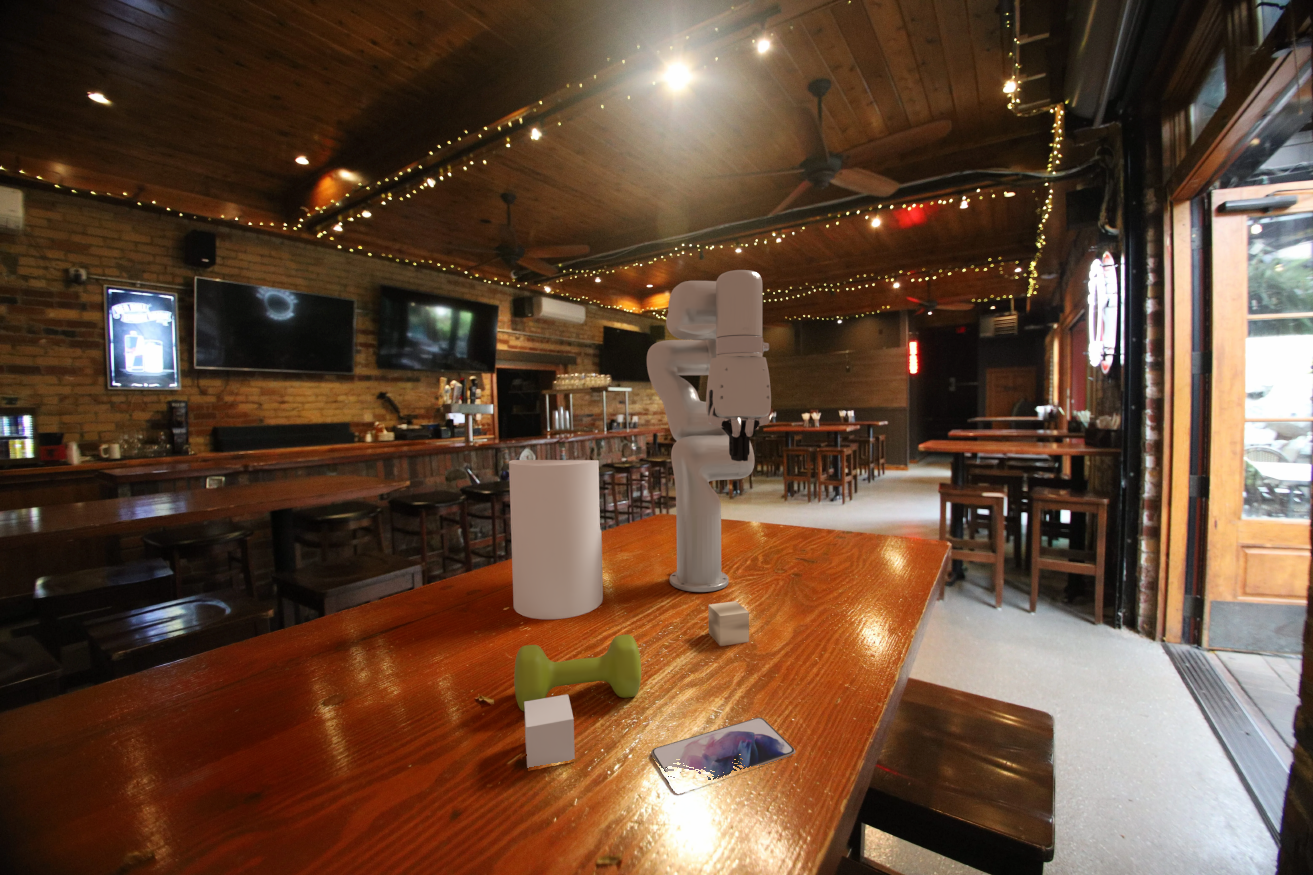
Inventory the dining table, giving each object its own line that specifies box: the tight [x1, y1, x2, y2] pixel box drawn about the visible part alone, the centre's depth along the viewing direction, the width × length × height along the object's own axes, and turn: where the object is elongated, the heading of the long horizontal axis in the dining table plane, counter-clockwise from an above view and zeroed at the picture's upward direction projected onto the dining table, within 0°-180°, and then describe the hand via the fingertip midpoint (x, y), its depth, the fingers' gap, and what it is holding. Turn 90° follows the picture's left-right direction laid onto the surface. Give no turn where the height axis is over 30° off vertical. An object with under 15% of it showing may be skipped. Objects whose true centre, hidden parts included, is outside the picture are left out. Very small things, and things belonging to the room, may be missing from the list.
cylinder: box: [508, 459, 604, 620], centre depth 103 cm, size 17×17×28 cm
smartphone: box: [650, 717, 797, 780], centre depth 58 cm, size 7×1×15 cm
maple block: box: [708, 600, 750, 647], centre depth 87 cm, size 5×5×5 cm
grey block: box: [524, 693, 576, 769], centre depth 59 cm, size 5×5×5 cm
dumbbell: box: [513, 634, 642, 712], centre depth 70 cm, size 16×8×7 cm, turn 102°
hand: (739, 460), depth 88 cm, fingers closed
